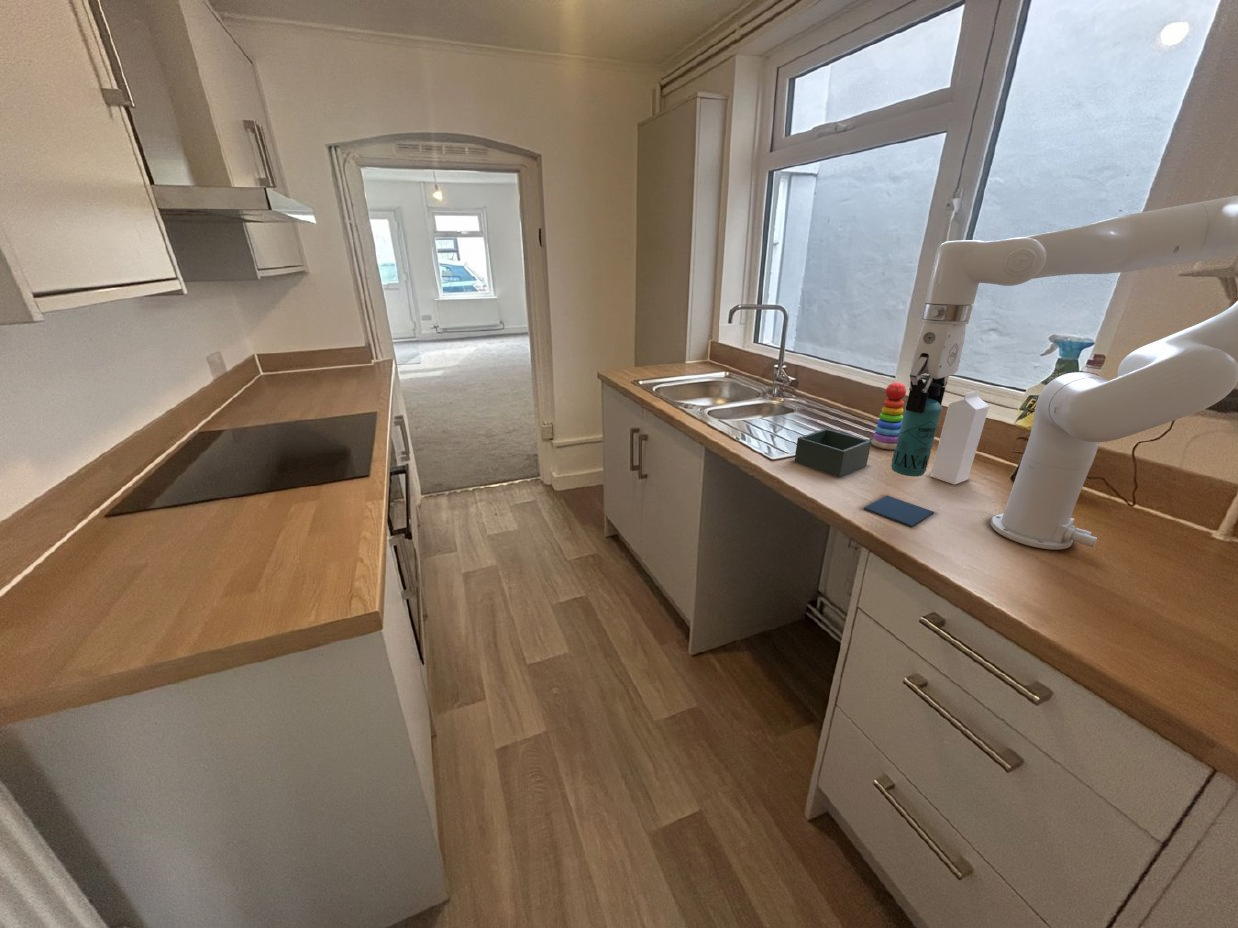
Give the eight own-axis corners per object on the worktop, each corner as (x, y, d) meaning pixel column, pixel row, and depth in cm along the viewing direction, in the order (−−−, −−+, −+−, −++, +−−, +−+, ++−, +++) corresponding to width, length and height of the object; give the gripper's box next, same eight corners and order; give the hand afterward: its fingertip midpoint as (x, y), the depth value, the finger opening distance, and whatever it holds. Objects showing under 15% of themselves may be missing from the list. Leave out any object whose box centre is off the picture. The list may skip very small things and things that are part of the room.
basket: (866, 465, 128) (871, 440, 125) (839, 477, 120) (844, 451, 118) (821, 451, 137) (825, 428, 135) (794, 462, 130) (797, 437, 128)
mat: (933, 513, 103) (934, 511, 103) (911, 527, 97) (912, 525, 97) (886, 496, 110) (886, 495, 110) (863, 509, 105) (864, 507, 105)
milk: (929, 476, 121) (951, 390, 113) (943, 471, 124) (965, 387, 116) (955, 485, 116) (979, 395, 108) (968, 479, 119) (993, 392, 111)
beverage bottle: (881, 473, 103) (901, 380, 95) (906, 469, 105) (927, 378, 97) (906, 485, 97) (930, 388, 89) (932, 481, 99) (957, 385, 91)
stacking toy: (894, 441, 145) (907, 380, 138) (906, 451, 138) (921, 386, 131) (866, 441, 146) (879, 379, 139) (877, 450, 138) (890, 386, 131)
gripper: (948, 318, 81) (923, 420, 88) (987, 313, 90) (962, 405, 97) (902, 315, 86) (882, 411, 93) (943, 310, 96) (922, 398, 103)
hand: (923, 407), depth 95 cm, fingers closed on beverage bottle, 6 cm apart
